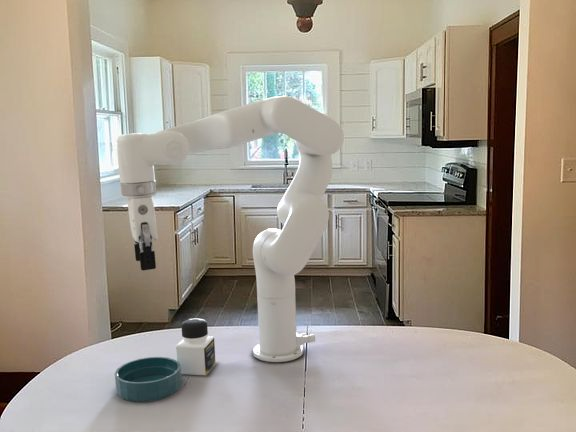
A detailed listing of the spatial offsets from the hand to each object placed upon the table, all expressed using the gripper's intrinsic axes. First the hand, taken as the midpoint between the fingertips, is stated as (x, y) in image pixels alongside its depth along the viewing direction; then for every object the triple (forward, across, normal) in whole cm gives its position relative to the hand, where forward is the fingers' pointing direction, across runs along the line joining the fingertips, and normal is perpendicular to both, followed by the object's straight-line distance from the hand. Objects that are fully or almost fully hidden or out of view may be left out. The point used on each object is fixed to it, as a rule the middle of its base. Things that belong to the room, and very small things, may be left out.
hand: (145, 264), depth 136 cm
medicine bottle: (+27, 0, -10) cm, 29 cm away
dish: (+27, -6, +2) cm, 28 cm away
